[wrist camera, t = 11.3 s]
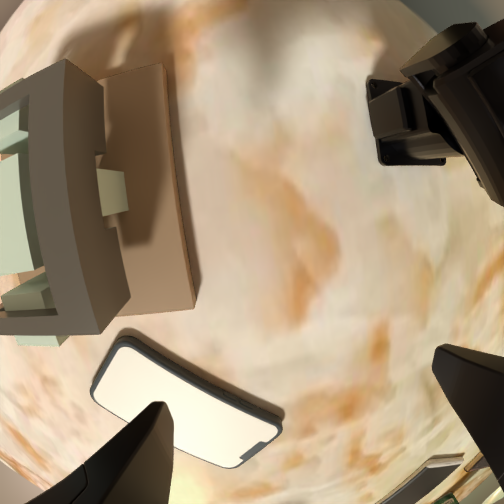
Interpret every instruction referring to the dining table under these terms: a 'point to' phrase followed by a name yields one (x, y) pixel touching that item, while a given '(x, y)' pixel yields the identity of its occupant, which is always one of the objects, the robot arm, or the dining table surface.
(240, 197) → the dining table surface
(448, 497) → the canned tomato
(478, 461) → the hardcover book
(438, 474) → the smartphone
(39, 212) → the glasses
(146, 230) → the green blocks on base
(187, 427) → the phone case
